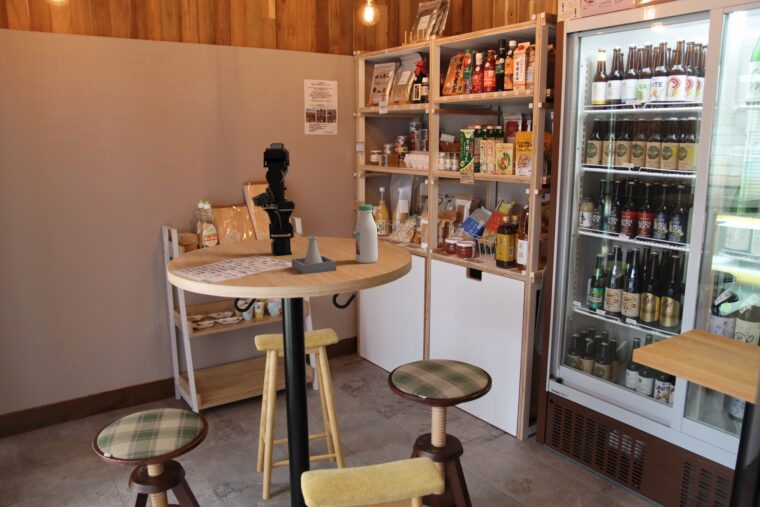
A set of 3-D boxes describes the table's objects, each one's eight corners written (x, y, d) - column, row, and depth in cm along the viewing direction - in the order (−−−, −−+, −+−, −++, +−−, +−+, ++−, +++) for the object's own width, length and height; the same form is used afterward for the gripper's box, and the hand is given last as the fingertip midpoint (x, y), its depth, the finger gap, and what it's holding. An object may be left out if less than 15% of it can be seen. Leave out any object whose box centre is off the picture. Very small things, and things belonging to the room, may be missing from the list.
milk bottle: (380, 259, 219) (379, 204, 215) (373, 264, 212) (372, 206, 208) (360, 258, 221) (359, 203, 218) (352, 262, 214) (351, 206, 210)
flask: (299, 266, 206) (298, 236, 204) (319, 263, 210) (318, 234, 208) (307, 269, 200) (306, 239, 198) (327, 267, 203) (326, 237, 202)
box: (323, 264, 212) (323, 255, 212) (336, 270, 202) (336, 261, 202) (291, 267, 207) (291, 259, 207) (302, 274, 197) (302, 264, 197)
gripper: (245, 184, 216) (247, 228, 218) (262, 185, 200) (265, 233, 202) (275, 183, 222) (277, 226, 224) (294, 184, 206) (296, 230, 208)
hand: (278, 229), depth 214 cm, fingers open, 9 cm apart
